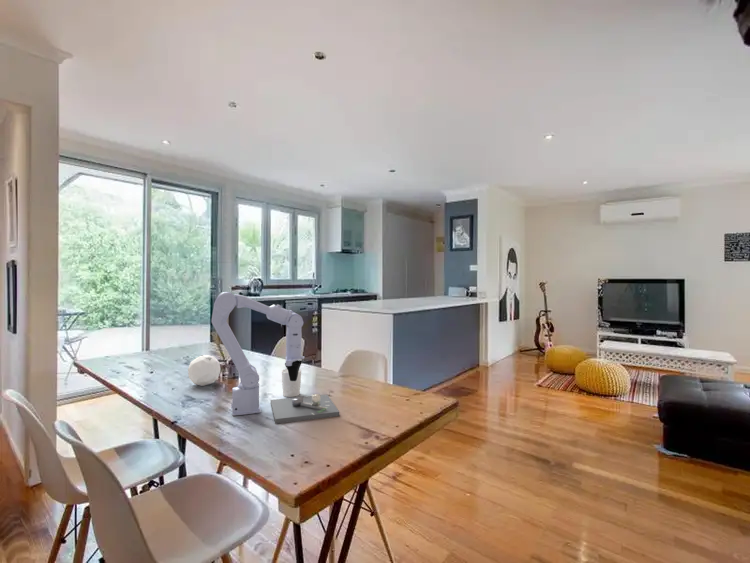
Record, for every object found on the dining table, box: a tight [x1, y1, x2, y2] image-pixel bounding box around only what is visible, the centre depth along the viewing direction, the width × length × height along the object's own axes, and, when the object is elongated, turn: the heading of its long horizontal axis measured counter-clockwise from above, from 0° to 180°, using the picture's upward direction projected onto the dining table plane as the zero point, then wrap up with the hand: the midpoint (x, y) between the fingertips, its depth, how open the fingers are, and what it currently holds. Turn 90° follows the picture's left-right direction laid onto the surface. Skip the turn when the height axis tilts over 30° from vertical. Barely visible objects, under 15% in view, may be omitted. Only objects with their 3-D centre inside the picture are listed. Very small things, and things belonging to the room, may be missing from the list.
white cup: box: [281, 368, 302, 398], centre depth 154 cm, size 8×8×10 cm
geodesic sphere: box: [187, 354, 221, 387], centre depth 167 cm, size 14×14×14 cm
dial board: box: [269, 394, 340, 424], centre depth 137 cm, size 22×20×2 cm
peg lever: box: [292, 393, 327, 410], centre depth 135 cm, size 14×4×4 cm, turn 65°
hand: (293, 380), depth 142 cm, fingers closed
